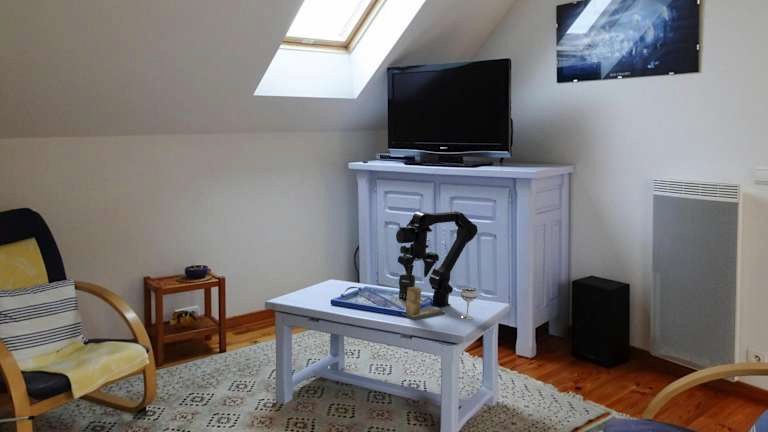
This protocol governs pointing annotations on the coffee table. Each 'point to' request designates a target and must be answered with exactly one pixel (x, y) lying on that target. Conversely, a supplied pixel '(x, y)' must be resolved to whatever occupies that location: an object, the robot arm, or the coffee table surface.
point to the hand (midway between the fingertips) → (417, 278)
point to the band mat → (426, 313)
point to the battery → (405, 285)
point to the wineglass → (468, 298)
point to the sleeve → (413, 300)
